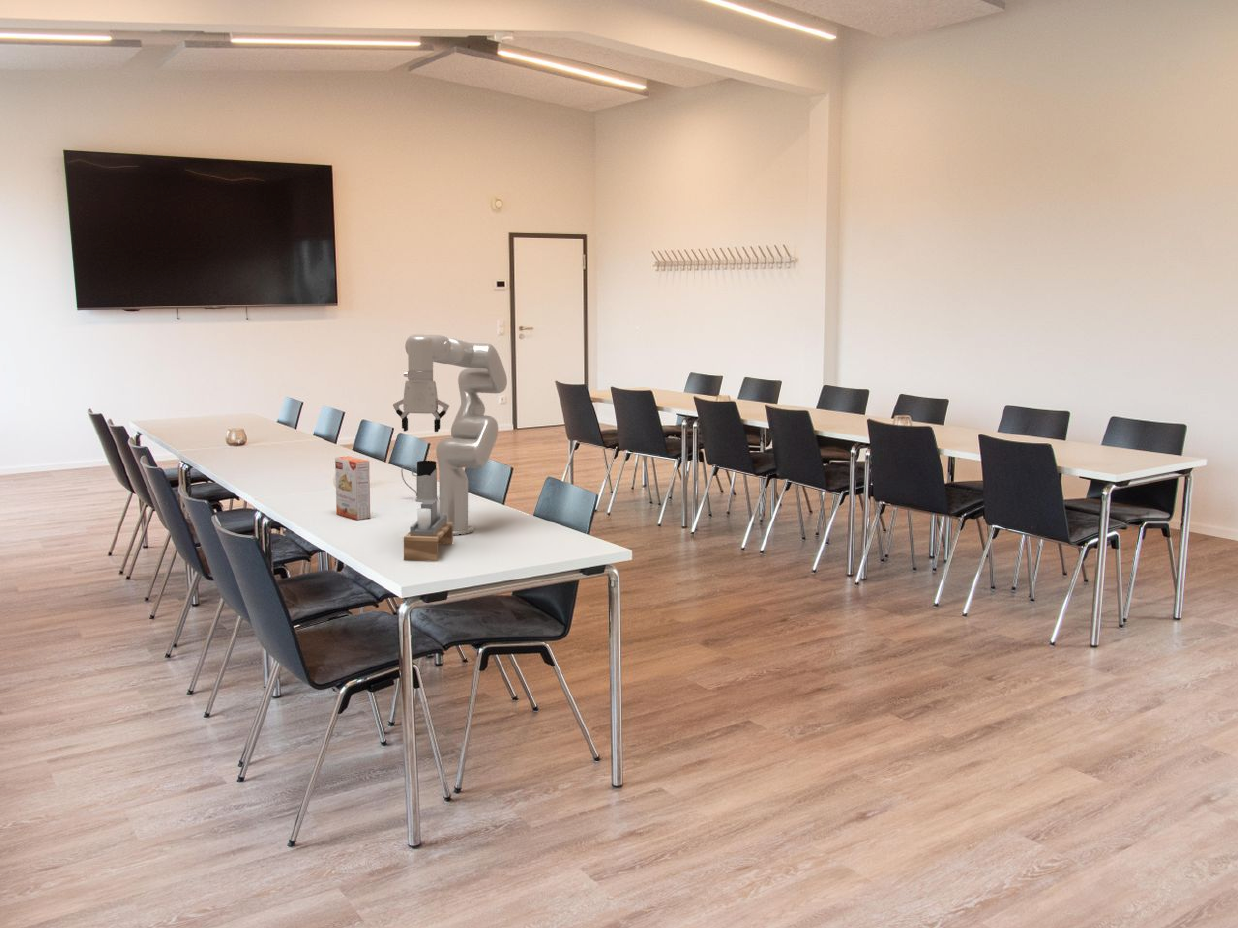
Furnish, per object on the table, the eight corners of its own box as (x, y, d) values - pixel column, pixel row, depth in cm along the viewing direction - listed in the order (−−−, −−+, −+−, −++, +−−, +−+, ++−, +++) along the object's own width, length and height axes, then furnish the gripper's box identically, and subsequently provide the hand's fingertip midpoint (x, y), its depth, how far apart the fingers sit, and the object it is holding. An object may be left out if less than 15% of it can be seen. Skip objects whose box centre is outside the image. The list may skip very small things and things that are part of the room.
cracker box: (335, 515, 381) (334, 457, 378) (350, 512, 385) (349, 455, 382) (355, 521, 371) (354, 461, 368) (370, 518, 375) (370, 460, 372)
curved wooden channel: (421, 542, 340) (421, 521, 339) (452, 543, 339) (452, 522, 338) (403, 560, 316) (403, 537, 315) (437, 561, 315) (437, 538, 314)
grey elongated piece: (424, 522, 337) (424, 496, 335) (446, 523, 336) (446, 496, 335) (410, 535, 317) (410, 507, 316) (433, 536, 317) (433, 508, 315)
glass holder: (435, 502, 409) (435, 464, 407) (399, 501, 409) (398, 463, 407) (440, 498, 417) (440, 460, 415) (404, 497, 418) (403, 459, 416)
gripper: (390, 376, 324) (390, 432, 327) (446, 377, 324) (446, 433, 326) (396, 375, 332) (396, 429, 334) (451, 376, 331) (451, 430, 334)
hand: (421, 431), depth 330 cm, fingers open, 9 cm apart
